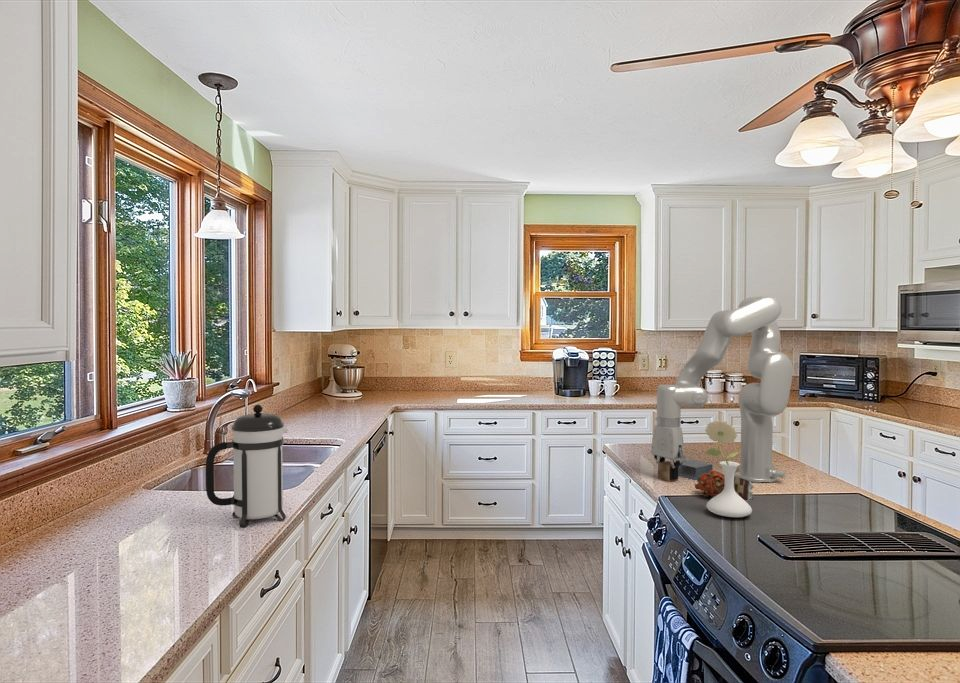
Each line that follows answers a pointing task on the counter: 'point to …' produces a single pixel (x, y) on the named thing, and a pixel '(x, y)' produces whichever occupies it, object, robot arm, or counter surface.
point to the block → (664, 471)
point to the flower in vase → (726, 474)
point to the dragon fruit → (711, 483)
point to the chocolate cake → (743, 488)
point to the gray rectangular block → (693, 469)
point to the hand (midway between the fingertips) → (667, 477)
